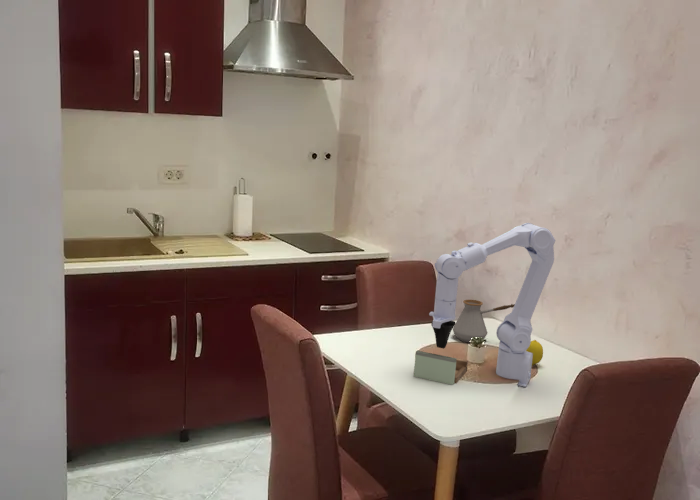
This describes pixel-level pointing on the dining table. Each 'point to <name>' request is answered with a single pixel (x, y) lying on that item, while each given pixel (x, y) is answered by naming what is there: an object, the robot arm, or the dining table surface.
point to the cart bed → (460, 369)
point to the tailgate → (435, 367)
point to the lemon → (536, 351)
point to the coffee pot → (473, 320)
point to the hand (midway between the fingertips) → (441, 347)
